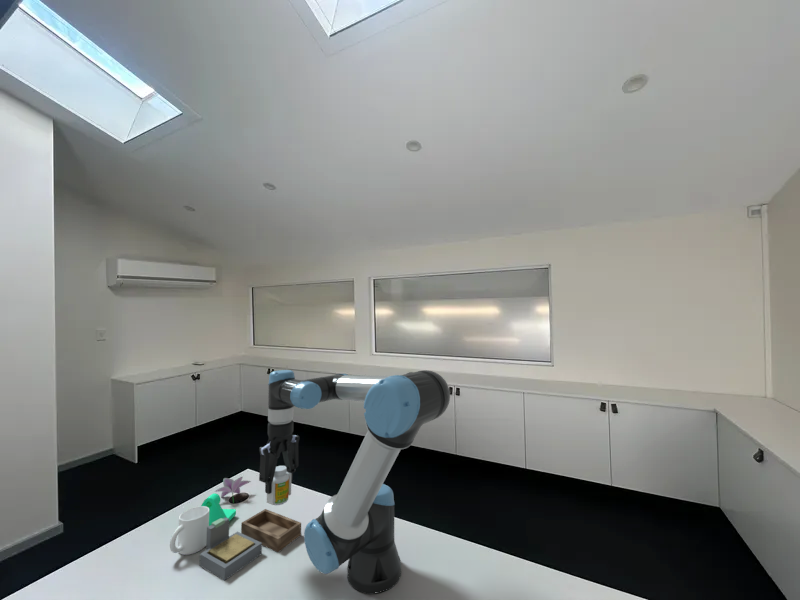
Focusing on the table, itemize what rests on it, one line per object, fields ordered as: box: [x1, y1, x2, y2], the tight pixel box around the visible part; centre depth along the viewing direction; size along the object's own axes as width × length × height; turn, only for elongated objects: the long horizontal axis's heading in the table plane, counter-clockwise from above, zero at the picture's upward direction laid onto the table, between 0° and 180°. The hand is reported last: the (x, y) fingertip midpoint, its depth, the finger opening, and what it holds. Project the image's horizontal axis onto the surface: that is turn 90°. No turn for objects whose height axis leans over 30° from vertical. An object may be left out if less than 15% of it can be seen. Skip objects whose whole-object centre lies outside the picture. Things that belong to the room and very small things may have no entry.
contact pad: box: [209, 534, 254, 564], centre depth 99 cm, size 9×9×2 cm
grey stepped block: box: [199, 517, 263, 581], centre depth 99 cm, size 14×12×9 cm
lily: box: [214, 476, 252, 504], centre depth 133 cm, size 12×12×10 cm
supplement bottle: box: [273, 465, 289, 506], centre depth 101 cm, size 5×5×10 cm
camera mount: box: [200, 492, 237, 526], centre depth 118 cm, size 12×8×10 cm, turn 87°
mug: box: [169, 505, 209, 556], centre depth 103 cm, size 12×8×10 cm
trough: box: [240, 508, 302, 553], centre depth 110 cm, size 18×10×4 cm, turn 61°
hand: (279, 498), depth 100 cm, fingers closed on supplement bottle, 5 cm apart
